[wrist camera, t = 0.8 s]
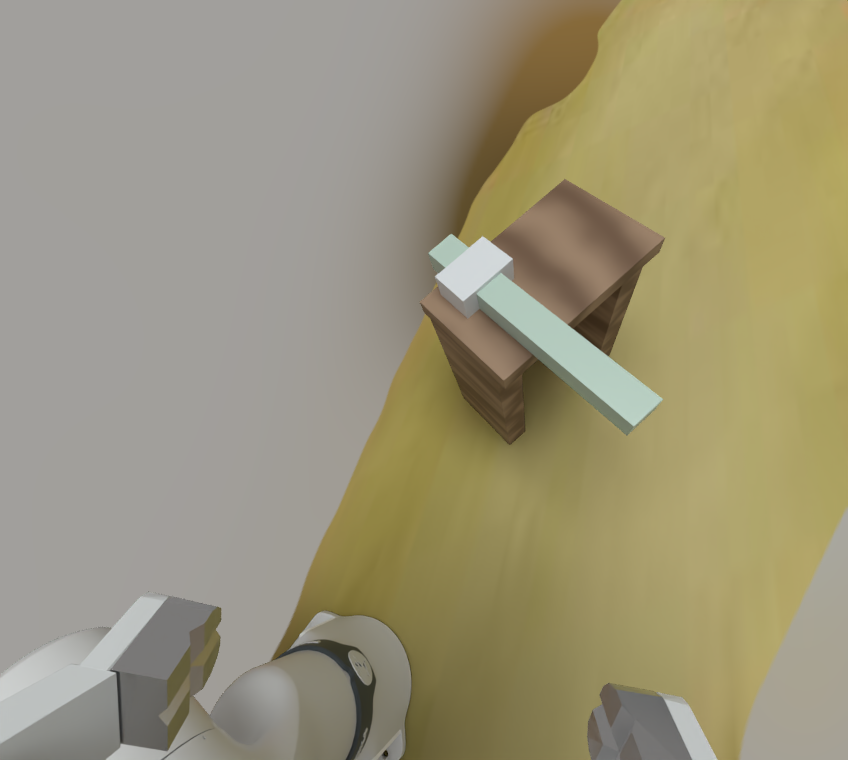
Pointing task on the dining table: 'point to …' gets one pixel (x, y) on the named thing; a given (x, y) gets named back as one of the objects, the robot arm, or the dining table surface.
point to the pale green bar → (538, 329)
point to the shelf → (546, 295)
